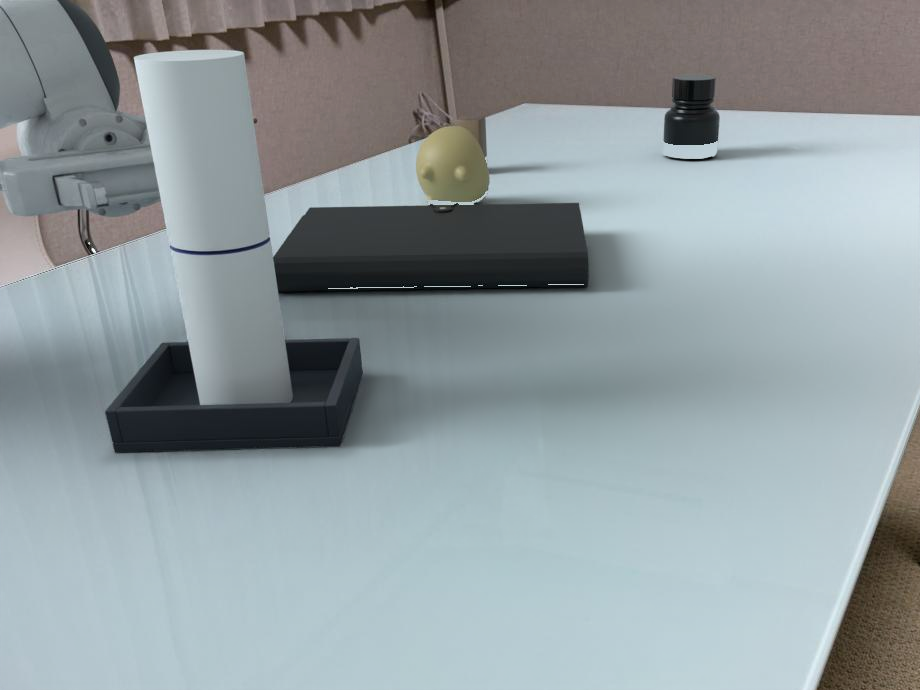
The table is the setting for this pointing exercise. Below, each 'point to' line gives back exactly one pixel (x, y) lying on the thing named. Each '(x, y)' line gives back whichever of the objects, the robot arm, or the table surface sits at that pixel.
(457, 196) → the tan rounded lump
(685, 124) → the ink bottle
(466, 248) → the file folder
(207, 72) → the cylindrical container
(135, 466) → the table surface
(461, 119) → the wooden block
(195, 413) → the tray
